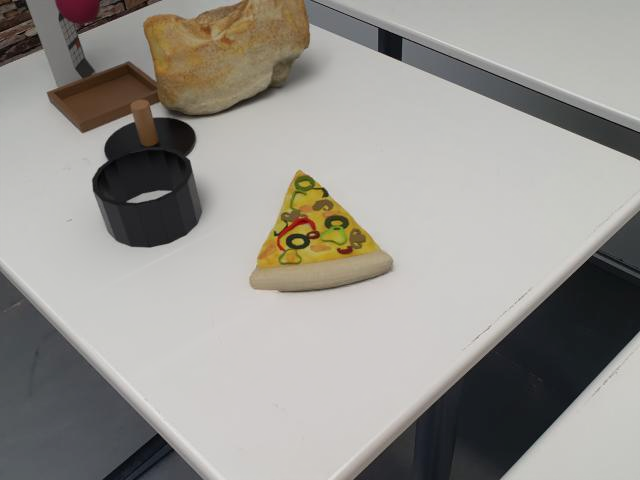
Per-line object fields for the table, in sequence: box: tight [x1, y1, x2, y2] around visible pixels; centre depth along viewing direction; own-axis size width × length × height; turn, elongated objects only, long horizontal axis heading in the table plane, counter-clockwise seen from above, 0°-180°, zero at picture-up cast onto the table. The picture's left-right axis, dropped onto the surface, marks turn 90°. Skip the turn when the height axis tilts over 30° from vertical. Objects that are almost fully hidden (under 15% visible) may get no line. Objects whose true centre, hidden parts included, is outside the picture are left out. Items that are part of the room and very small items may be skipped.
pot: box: [91, 147, 203, 249], centre depth 81 cm, size 11×11×6 cm
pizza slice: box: [249, 169, 394, 292], centre depth 79 cm, size 16×21×3 cm
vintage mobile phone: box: [25, 0, 97, 88], centre depth 98 cm, size 4×5×25 cm
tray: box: [46, 60, 161, 134], centre depth 101 cm, size 14×12×2 cm
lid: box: [103, 100, 197, 161], centre depth 91 cm, size 12×12×7 cm
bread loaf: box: [142, 0, 311, 116], centre depth 99 cm, size 23×17×15 cm
